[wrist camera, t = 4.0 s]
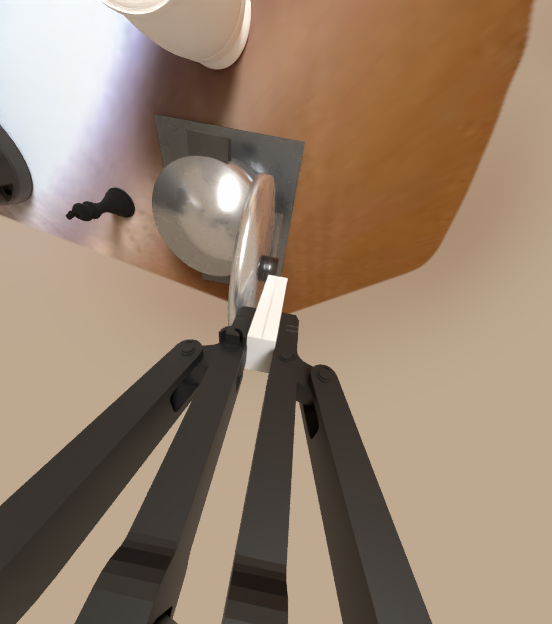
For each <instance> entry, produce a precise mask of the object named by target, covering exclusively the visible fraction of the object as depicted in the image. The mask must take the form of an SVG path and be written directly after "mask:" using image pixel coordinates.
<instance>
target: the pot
mask: <svg viewBox="0 0 552 624" xmlns="http://www.w3.org/2000/svg"><path fill="white" fill-rule="evenodd" d="M154 116H155V122H156V128H157V134H158V139H159V145H160V151H161V157H162V162H163V168H164V169H163V171H162V172H161V173H160V175H159V176H158V178H157V180H156V183H155V185H154V190H153V197H152V206H153V214H154V218H155V222H156V225H157V227H158V230H159V232H160V234H161V236H162V238H163V240H164V241H165V243H166V244H167V246H168V247H169V248H170V250H171V251H172V252H173V253H174V254H175V255H176V256H177V257H178V258H179V259H180V260H181V261H183V262H184V263H185V264H187V265H188V266H190V267H191V268H193V269H195V270H197V271H199V272H201V275H202V279H204V280H209V281H215V282H220V283H225V284H229V283H230V273H231V266H232V258H233V252H234V246H235V240H236V235H237V230H238V225H239V221H240V217H241V213H242V209H243V206H244V202H245V199H246V196H247V193H248V190H249V188H250V185H251V183H252V181H253V179H254V178H255V177H256V175H257V174H259V173H262V174H267V175H272V176H273V178H274V182H275V213H276V214H277V216H276V224H275V231H274V239H273V246H272V253H271V257H276V258H279V263H278V269H277V274H276V276H278V277H281V272H282V266H283V261H284V255H285V249H286V244H287V238H288V233H289V227H290V221H291V216H292V210H293V205H294V199H295V193H296V188H297V182H298V177H299V171H300V165H301V160H302V154H303V149H304V143H305V142H302V141H297V140H291V139H286V138H280V137H275V136H270V135H264V134H259V133H253V132H248V131H243V130H237V129H232V128H226V127H221V126H216V125H210V124H205V123H199V122H194V121H188V120H183V119H178V118H172V117H167V116H161V115H156V114H154Z"/></svg>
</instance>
